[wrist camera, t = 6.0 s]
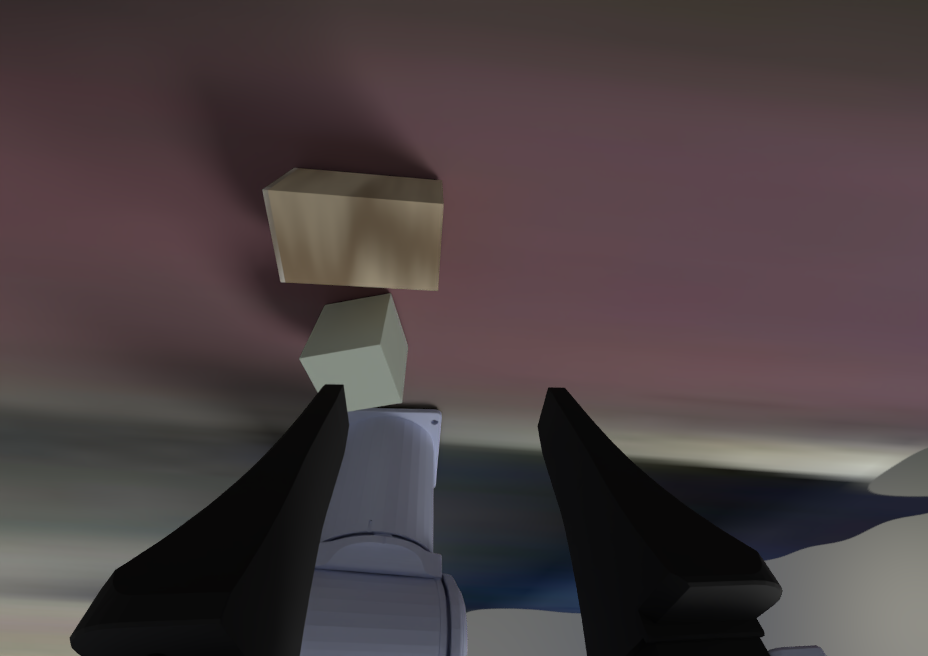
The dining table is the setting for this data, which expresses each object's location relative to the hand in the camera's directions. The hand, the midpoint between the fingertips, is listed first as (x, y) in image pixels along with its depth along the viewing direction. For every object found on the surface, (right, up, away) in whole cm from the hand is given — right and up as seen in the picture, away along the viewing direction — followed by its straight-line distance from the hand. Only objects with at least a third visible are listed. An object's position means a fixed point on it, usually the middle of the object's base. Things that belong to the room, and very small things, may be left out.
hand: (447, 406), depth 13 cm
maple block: (-8, +8, +4) cm, 11 cm away
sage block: (-5, +3, +10) cm, 12 cm away
